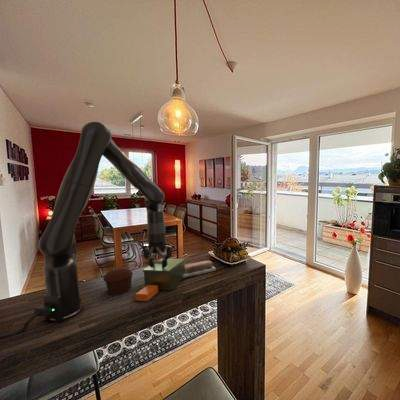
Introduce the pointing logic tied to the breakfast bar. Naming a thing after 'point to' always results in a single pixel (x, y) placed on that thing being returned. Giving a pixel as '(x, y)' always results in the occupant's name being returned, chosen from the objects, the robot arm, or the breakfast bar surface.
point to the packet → (147, 293)
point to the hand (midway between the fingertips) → (158, 266)
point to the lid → (159, 268)
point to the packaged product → (198, 268)
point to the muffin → (118, 280)
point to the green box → (165, 277)
